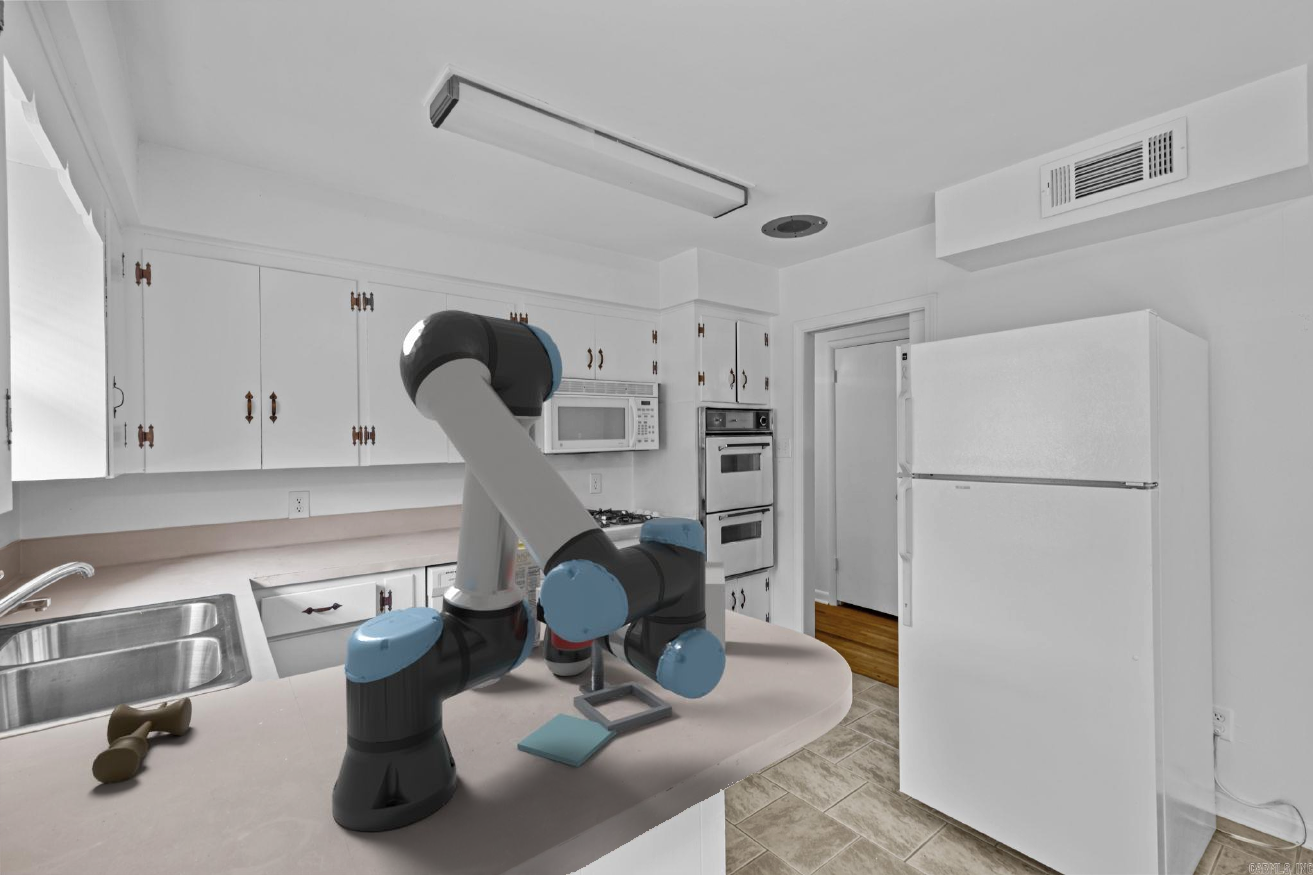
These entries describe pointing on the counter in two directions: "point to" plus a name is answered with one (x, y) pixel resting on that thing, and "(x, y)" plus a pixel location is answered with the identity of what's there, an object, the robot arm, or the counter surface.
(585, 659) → the pump dispenser
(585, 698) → the collar
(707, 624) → the milk carton
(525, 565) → the juice carton
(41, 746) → the counter surface
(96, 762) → the kendama
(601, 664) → the post
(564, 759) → the mat
